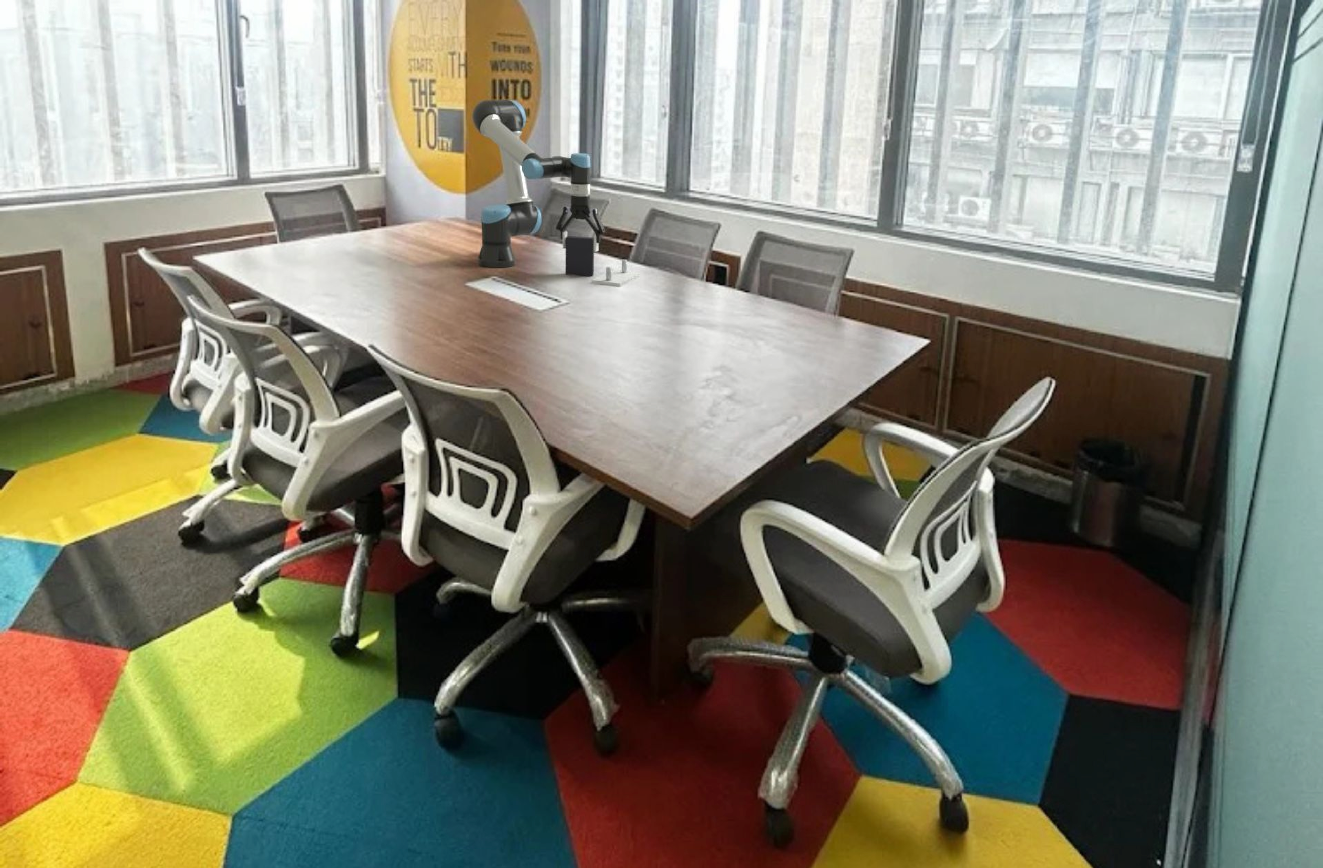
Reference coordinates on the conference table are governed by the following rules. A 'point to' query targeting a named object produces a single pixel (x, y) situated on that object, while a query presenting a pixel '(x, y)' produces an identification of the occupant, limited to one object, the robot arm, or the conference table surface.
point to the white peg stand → (616, 276)
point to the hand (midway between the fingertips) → (580, 249)
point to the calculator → (579, 256)
